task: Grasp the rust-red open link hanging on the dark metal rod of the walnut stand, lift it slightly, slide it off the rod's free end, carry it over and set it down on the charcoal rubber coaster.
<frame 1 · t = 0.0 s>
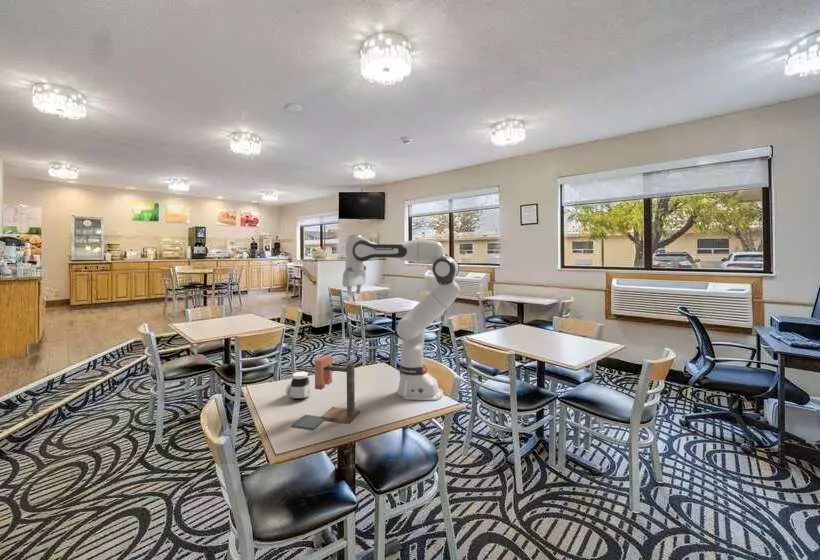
hand: (354, 294, 183), 48 cm above the table, fingers open, 8 cm apart
coaster: (309, 422, 145), on the table
spread jar: (297, 397, 172), on the table
link: (323, 385, 153), point 12 cm above the table, touching stand
stand: (335, 415, 152), on the table
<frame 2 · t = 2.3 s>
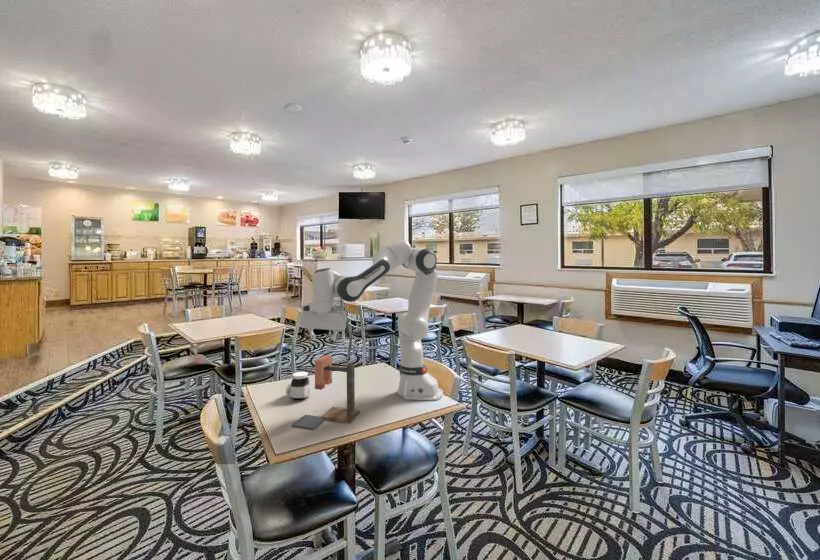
hand: (323, 339, 151), 32 cm above the table, fingers open, 8 cm apart
nothing on the table moved.
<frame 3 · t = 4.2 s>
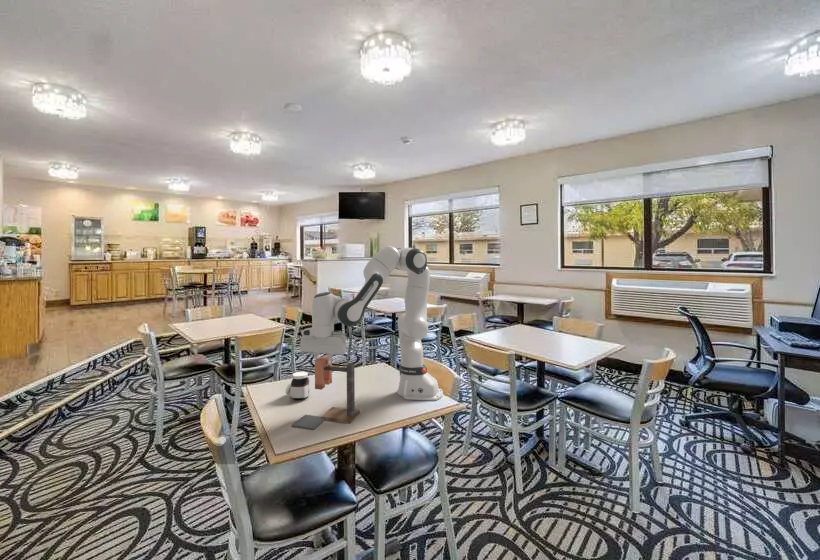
hand: (323, 363, 152), 22 cm above the table, fingers closed on link, 3 cm apart
link: (323, 385, 153), point 12 cm above the table, touching gripper, stand
everything else where it was.
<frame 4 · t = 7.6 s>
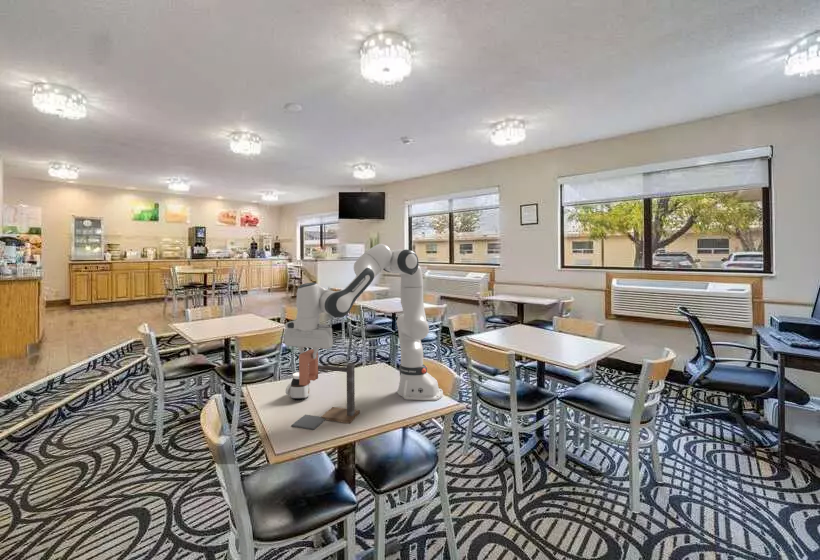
hand: (308, 357, 144), 27 cm above the table, fingers closed on link, 3 cm apart
link: (309, 381, 144), point 17 cm above the table, touching gripper
everything else where it was.
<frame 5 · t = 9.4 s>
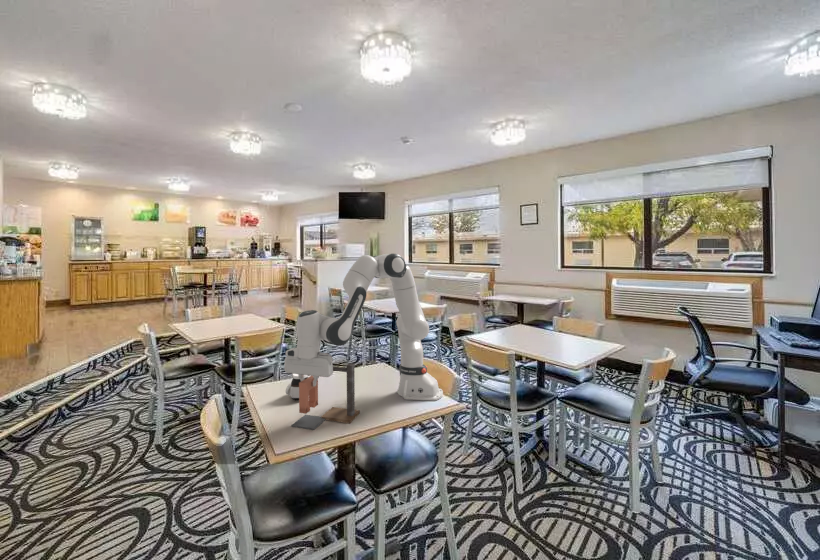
hand: (308, 385, 144), 15 cm above the table, fingers closed on link, 3 cm apart
link: (308, 408, 145), point 6 cm above the table, touching gripper
everything else where it was.
when the fingers open (11 cm above the table, at t = 11.0 s): link stays where it is, resting on coaster.
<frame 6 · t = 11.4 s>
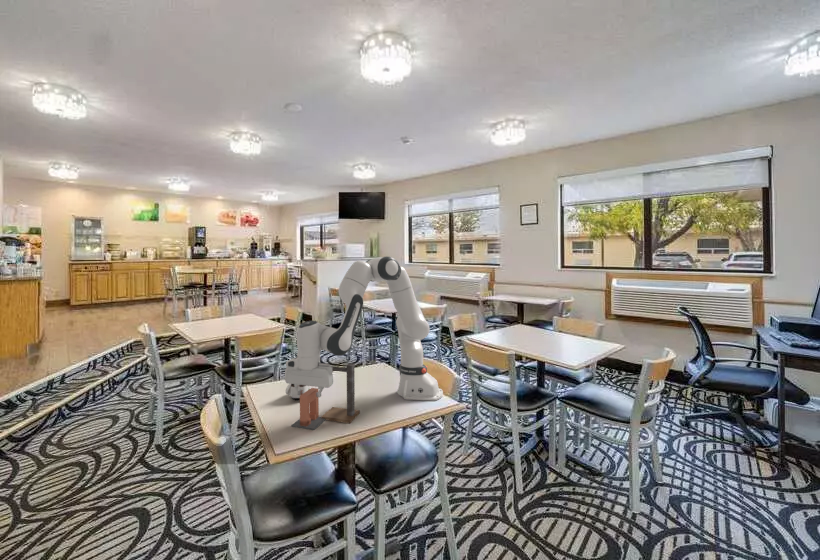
hand: (309, 395, 145), 11 cm above the table, fingers open, 7 cm apart
link: (309, 421, 145), point 1 cm above the table, touching coaster
everything else where it was.
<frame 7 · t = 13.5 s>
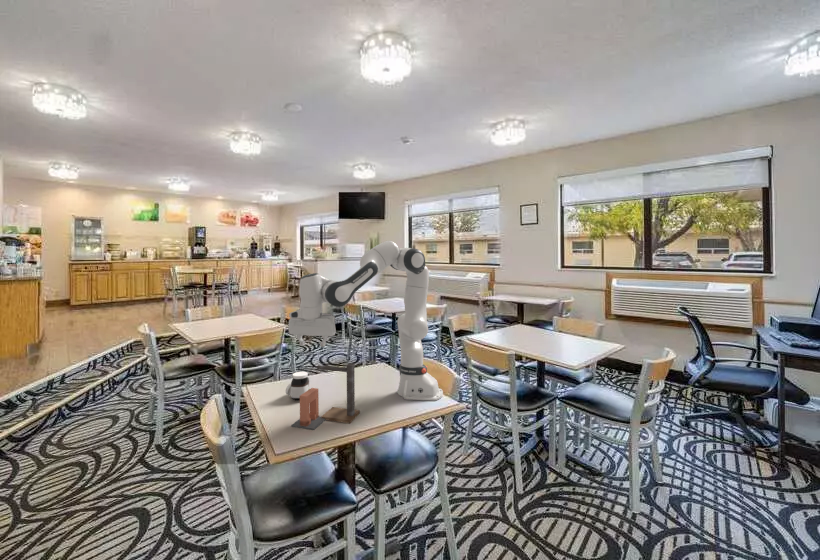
hand: (312, 345, 149), 30 cm above the table, fingers open, 8 cm apart
nothing on the table moved.
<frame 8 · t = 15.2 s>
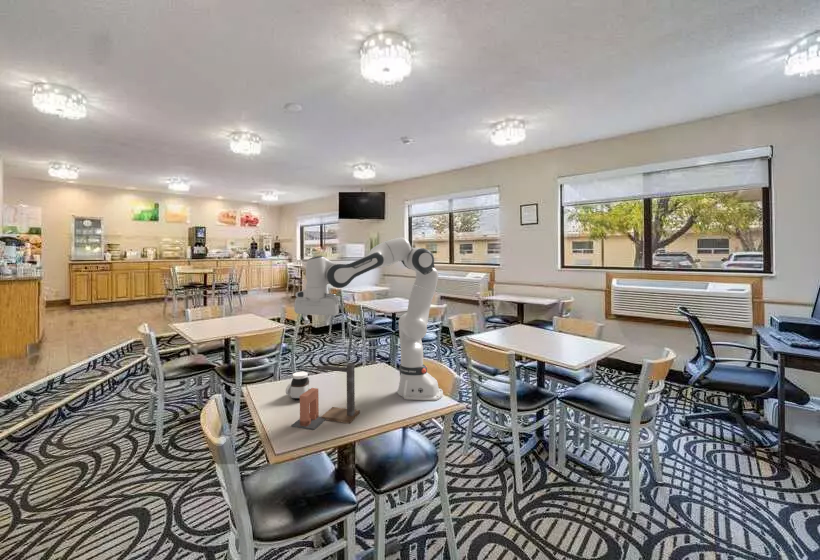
hand: (316, 324, 159), 37 cm above the table, fingers open, 8 cm apart
nothing on the table moved.
at the end: link 0.1 cm from the coaster (horizontally); link point 0.6 cm above the table; the gripper is holding nothing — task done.
